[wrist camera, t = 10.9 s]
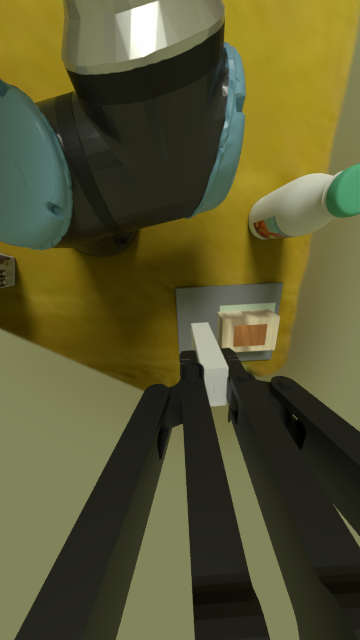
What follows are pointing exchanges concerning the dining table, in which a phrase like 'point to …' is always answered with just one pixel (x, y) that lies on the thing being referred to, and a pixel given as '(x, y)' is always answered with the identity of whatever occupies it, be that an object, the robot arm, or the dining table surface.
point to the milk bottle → (306, 204)
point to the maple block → (247, 330)
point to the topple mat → (223, 309)
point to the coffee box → (7, 271)
